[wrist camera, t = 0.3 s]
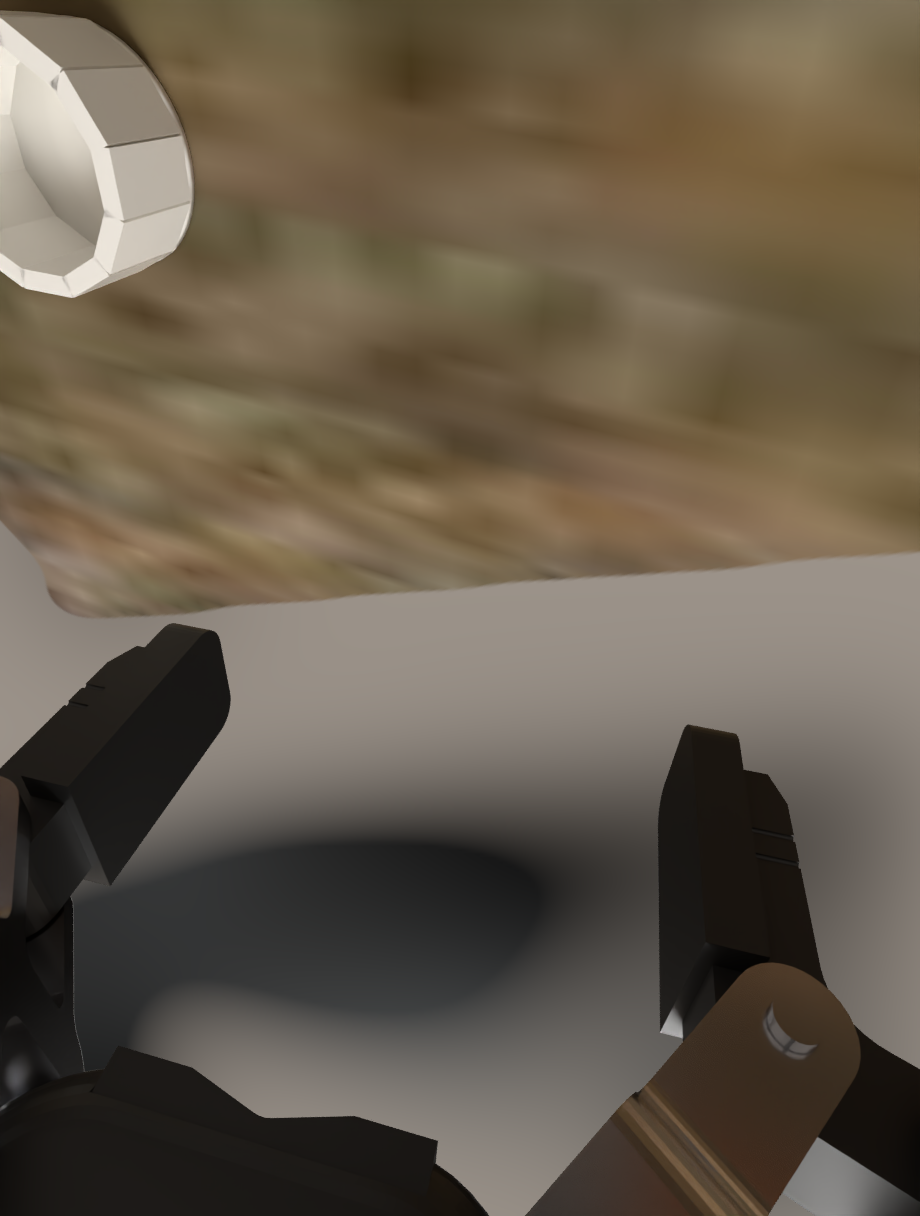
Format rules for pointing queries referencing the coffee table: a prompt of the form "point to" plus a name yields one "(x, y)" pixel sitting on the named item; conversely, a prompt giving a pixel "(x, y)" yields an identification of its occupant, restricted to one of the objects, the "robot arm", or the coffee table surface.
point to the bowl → (85, 157)
